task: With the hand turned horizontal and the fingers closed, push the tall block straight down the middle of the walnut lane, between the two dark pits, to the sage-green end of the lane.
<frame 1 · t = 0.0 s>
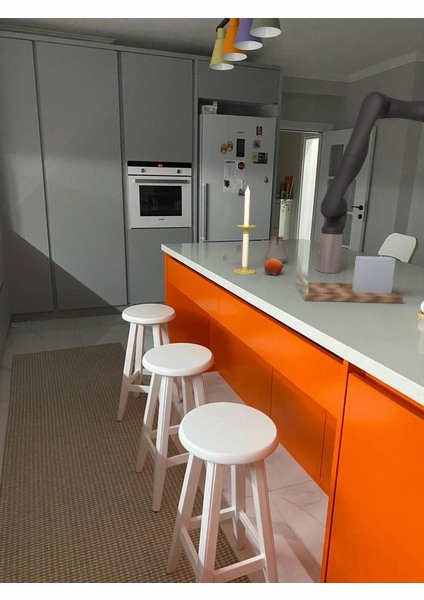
block: (371, 291, 149), point 2 cm above the counter, touching lane
candle: (244, 272, 188), on the counter
lane: (345, 294, 150), on the counter
fruit: (273, 275, 184), on the counter
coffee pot: (275, 264, 208), on the counter
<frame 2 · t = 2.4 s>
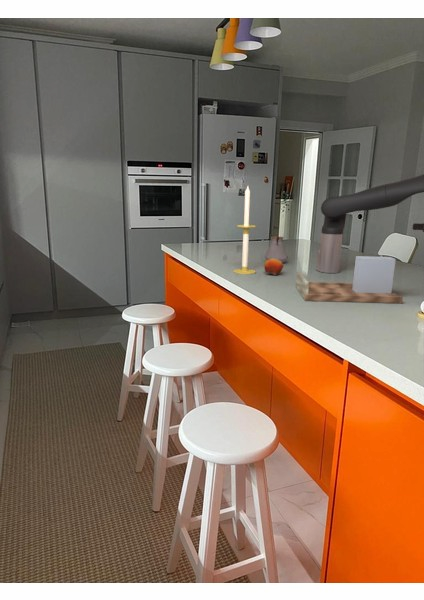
hand: (418, 227, 144), 24 cm above the counter, tool horizontal, fingers open, 7 cm apart
nothing on the counter moved.
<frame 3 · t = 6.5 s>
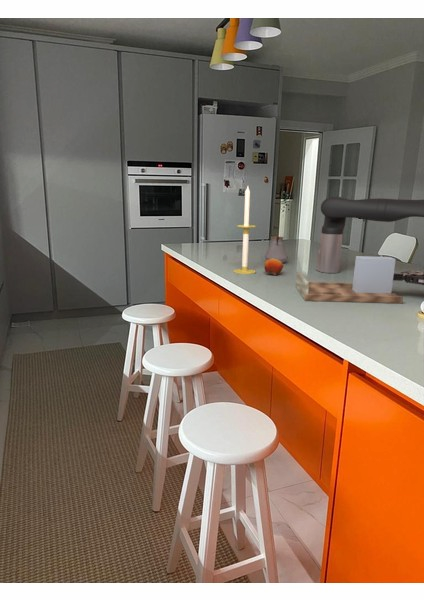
hand: (390, 276, 148), 7 cm above the counter, tool horizontal, fingers closed
block: (371, 291, 149), point 2 cm above the counter, touching gripper, lane
everything else where it was.
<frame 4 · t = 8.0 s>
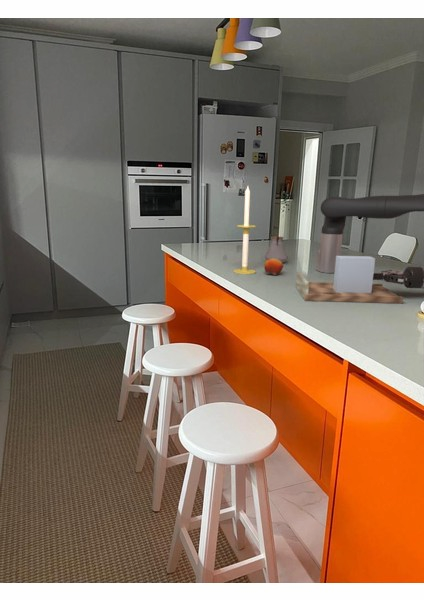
hand: (370, 276, 148), 7 cm above the counter, tool horizontal, fingers closed
block: (351, 290, 150), point 2 cm above the counter, touching gripper
everything else where it was.
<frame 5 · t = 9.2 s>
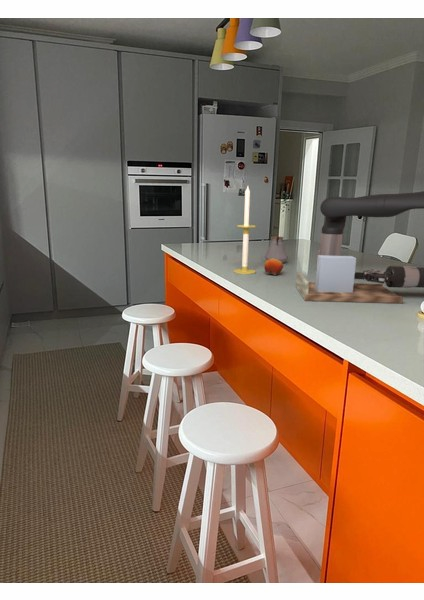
hand: (352, 275, 148), 7 cm above the counter, tool horizontal, fingers closed
block: (333, 290, 150), point 2 cm above the counter, touching gripper
everything else where it was.
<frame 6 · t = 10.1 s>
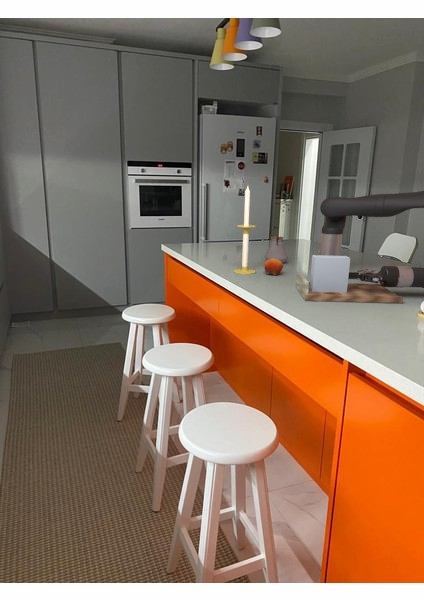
hand: (346, 275, 148), 7 cm above the counter, tool horizontal, fingers closed
block: (327, 290, 150), point 2 cm above the counter, touching gripper, lane
everything else where it was.
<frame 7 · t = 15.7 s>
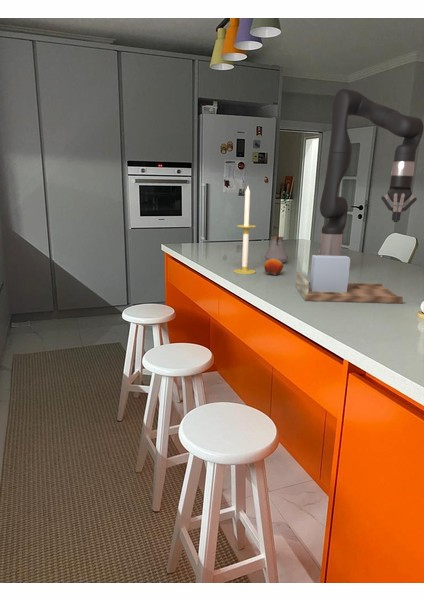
hand: (395, 222, 161), 25 cm above the counter, tool pointing down, fingers closed
block: (327, 290, 150), point 2 cm above the counter, touching lane
everything else where it was.
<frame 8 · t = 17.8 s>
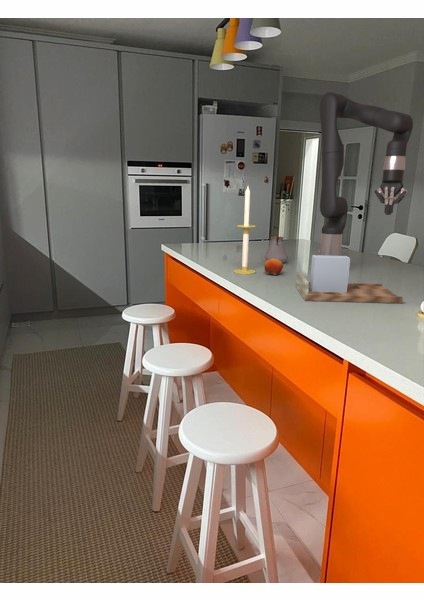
hand: (388, 214, 167), 27 cm above the counter, tool pointing down, fingers closed
nothing on the counter moved.
at the end: block inside the target area on the lane (1.9 cm from its centre), point 1.6 cm above the lane's base; block tilted 0°; block moved 15.4 cm from its start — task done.
